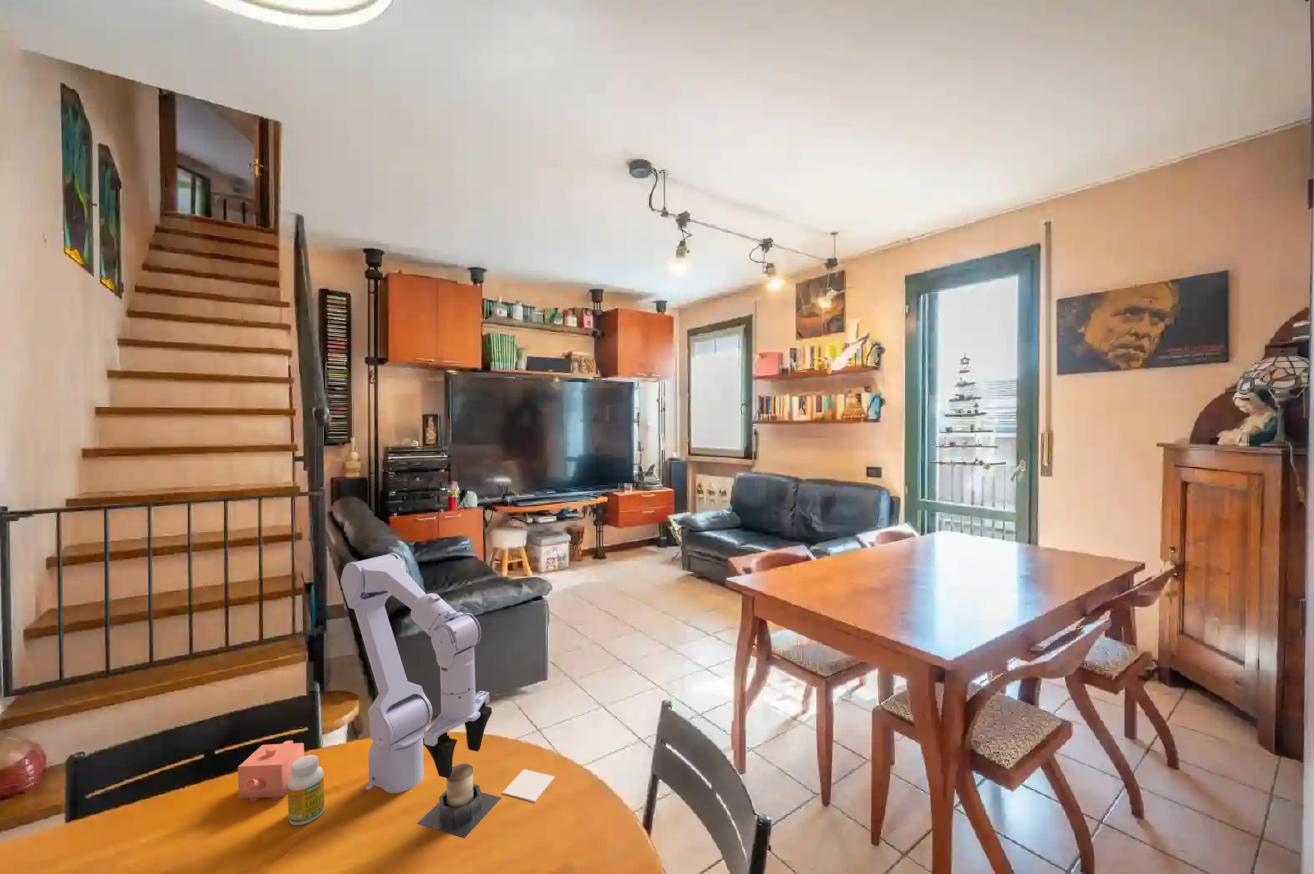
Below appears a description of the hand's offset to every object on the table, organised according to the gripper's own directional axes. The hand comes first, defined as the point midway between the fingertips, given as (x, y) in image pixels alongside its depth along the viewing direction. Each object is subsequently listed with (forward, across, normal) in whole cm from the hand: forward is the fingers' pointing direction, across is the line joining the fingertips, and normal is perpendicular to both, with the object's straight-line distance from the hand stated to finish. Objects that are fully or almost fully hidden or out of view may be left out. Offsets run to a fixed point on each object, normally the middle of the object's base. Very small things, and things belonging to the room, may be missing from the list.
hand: (460, 762), depth 95 cm
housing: (+10, 0, 0) cm, 10 cm away
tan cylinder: (+9, 0, 0) cm, 9 cm away
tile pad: (+10, +10, -8) cm, 16 cm away
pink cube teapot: (+10, -7, +38) cm, 40 cm away
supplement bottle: (+10, -9, +26) cm, 29 cm away
